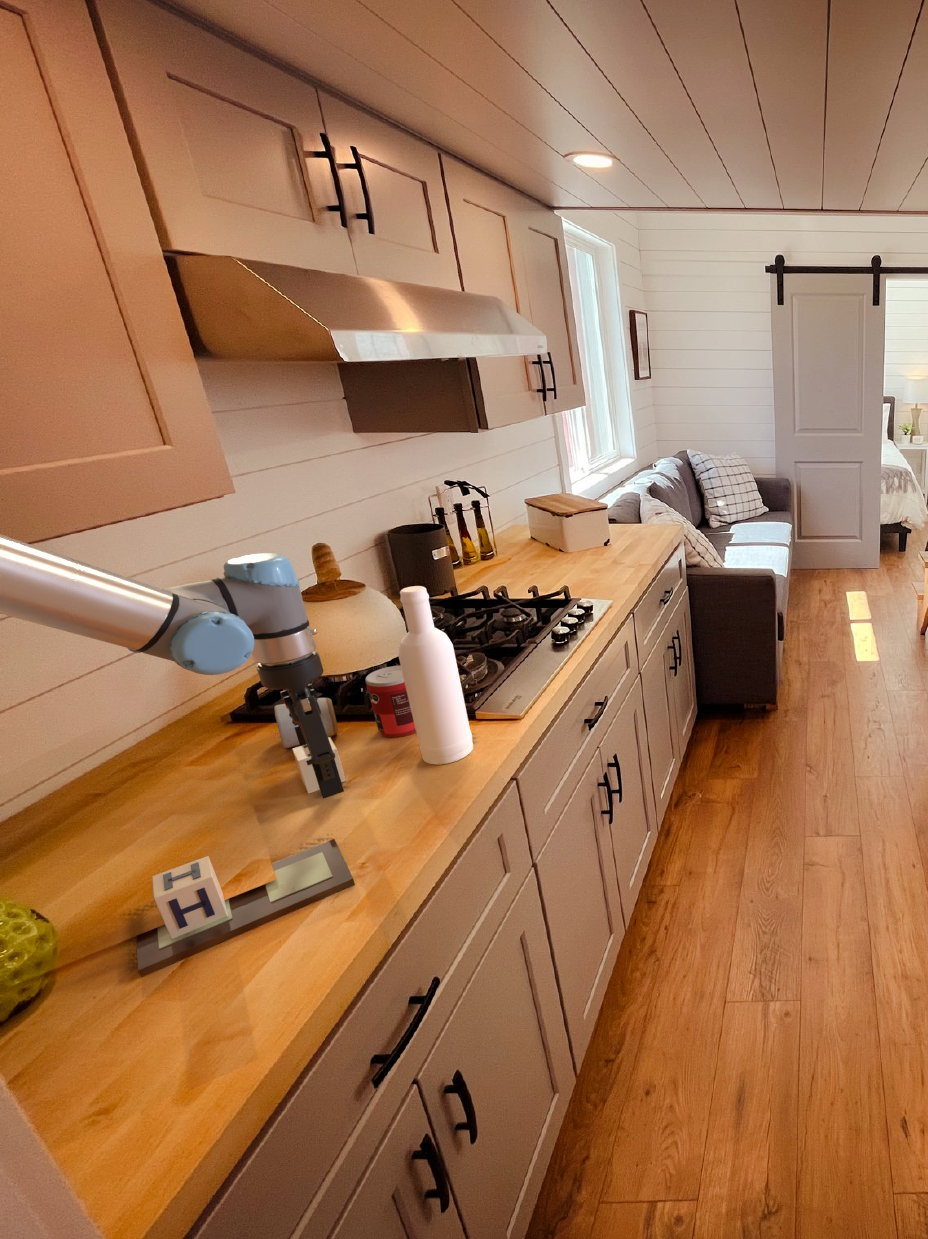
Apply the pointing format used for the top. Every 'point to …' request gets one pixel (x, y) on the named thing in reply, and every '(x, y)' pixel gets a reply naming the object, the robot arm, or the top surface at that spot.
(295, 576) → the robot arm
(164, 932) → the word board
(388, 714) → the canned food
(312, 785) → the letter I
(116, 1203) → the top surface
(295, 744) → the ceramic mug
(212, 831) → the top surface
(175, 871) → the letter H
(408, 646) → the bottle
